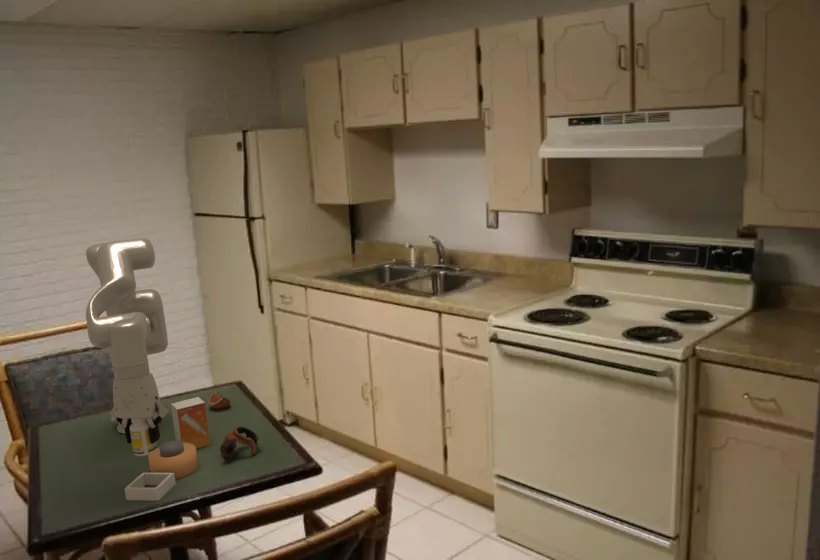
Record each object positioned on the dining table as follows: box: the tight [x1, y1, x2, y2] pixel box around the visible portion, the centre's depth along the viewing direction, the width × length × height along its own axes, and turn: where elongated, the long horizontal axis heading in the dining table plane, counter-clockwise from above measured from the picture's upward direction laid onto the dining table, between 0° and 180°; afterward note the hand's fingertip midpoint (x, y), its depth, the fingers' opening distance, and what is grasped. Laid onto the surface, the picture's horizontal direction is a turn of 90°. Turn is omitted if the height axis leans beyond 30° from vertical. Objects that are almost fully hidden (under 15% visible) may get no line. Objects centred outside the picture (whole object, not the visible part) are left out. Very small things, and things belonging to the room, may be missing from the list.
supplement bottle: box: [130, 418, 157, 457], centre depth 179 cm, size 5×5×10 cm
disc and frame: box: [124, 439, 199, 502], centre depth 188 cm, size 12×22×7 cm, turn 170°
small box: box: [170, 396, 211, 450], centre depth 207 cm, size 8×6×13 cm
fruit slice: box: [207, 390, 231, 409], centre depth 237 cm, size 8×7×5 cm
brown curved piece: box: [219, 426, 259, 460], centre depth 199 cm, size 12×10×8 cm
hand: (143, 440), depth 180 cm, fingers closed on supplement bottle, 5 cm apart
